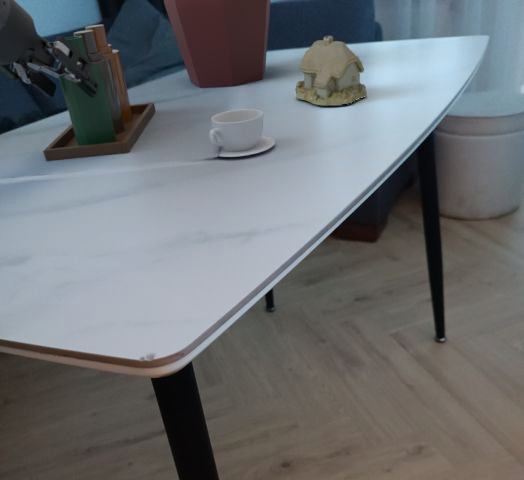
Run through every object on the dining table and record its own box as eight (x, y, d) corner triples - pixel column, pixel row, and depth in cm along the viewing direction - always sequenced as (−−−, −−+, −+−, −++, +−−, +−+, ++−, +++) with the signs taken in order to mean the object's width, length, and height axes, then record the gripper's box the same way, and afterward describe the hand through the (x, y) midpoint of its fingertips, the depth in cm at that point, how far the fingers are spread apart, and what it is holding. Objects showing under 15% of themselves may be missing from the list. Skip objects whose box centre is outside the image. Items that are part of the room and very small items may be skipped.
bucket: (302, 72, 130) (294, -68, 116) (230, 95, 117) (211, -58, 103) (225, 67, 145) (210, -57, 130) (154, 87, 132) (129, -48, 118)
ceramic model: (380, 95, 105) (381, 31, 99) (335, 110, 99) (333, 43, 94) (324, 88, 114) (321, 29, 108) (280, 101, 109) (275, 40, 103)
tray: (47, 166, 89) (42, 150, 88) (89, 122, 110) (86, 109, 109) (129, 158, 88) (126, 142, 87) (156, 115, 109) (153, 102, 108)
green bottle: (74, 151, 92) (44, 43, 83) (84, 140, 96) (56, 37, 88) (112, 147, 91) (86, 38, 83) (120, 136, 96) (96, 32, 88)
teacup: (245, 135, 92) (241, 103, 89) (289, 145, 86) (286, 111, 83) (193, 153, 87) (187, 120, 84) (236, 164, 80) (231, 129, 78)
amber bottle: (96, 127, 103) (71, 30, 95) (103, 118, 108) (81, 25, 100) (129, 123, 103) (108, 26, 94) (136, 115, 108) (116, 21, 99)
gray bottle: (85, 138, 97) (58, 36, 89) (94, 128, 102) (69, 31, 94) (121, 134, 97) (97, 31, 88) (128, 125, 102) (106, 26, 93)
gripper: (35, -17, 71) (119, 67, 85) (-45, -9, 77) (46, 69, 91) (17, 40, 70) (104, 116, 84) (-62, 44, 76) (32, 114, 90)
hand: (74, 91), depth 88 cm, fingers open, 8 cm apart
